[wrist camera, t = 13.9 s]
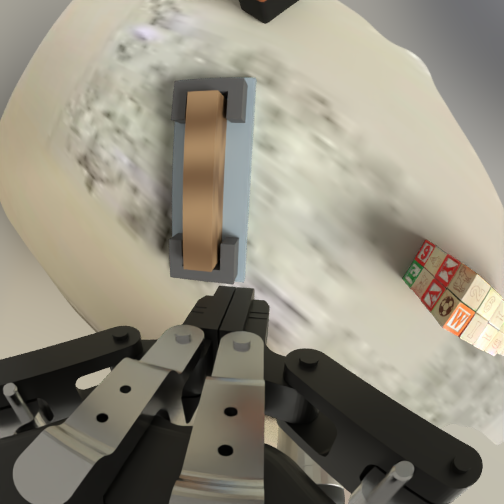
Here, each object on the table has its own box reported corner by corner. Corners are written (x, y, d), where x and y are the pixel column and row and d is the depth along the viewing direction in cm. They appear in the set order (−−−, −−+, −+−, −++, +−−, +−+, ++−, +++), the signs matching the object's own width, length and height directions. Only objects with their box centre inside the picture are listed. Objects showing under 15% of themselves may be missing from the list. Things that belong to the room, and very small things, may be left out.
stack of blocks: (499, 298, 31) (540, 335, 20) (479, 329, 33) (515, 371, 22) (424, 238, 31) (478, 273, 19) (400, 279, 33) (442, 328, 21)
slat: (221, 256, 33) (211, 272, 28) (197, 254, 33) (183, 269, 29) (228, 101, 27) (218, 90, 23) (202, 101, 28) (187, 91, 23)
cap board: (244, 279, 35) (240, 293, 31) (176, 271, 35) (164, 284, 32) (256, 80, 27) (252, 69, 23) (181, 82, 28) (168, 73, 24)
